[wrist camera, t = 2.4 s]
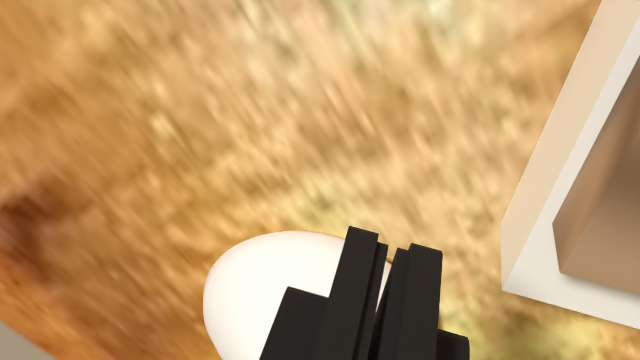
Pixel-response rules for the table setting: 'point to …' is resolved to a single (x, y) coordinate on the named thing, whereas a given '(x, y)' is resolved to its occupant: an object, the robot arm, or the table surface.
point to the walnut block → (606, 202)
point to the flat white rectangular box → (571, 171)
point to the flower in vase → (265, 286)
